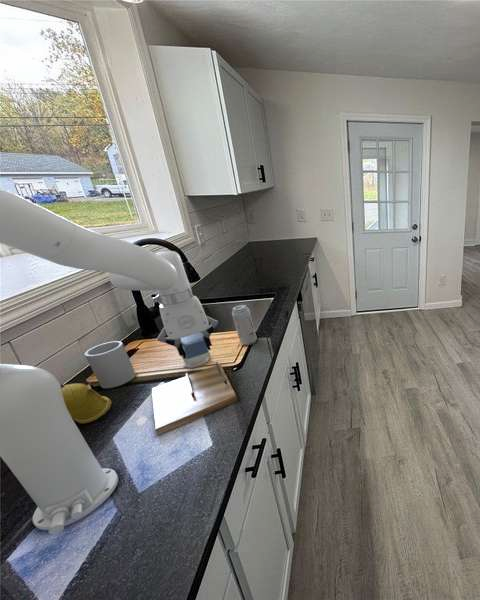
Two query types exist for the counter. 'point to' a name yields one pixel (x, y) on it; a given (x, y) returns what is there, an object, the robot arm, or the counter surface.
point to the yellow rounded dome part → (84, 402)
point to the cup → (110, 364)
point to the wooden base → (191, 398)
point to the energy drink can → (244, 325)
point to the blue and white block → (195, 347)
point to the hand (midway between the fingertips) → (196, 351)
